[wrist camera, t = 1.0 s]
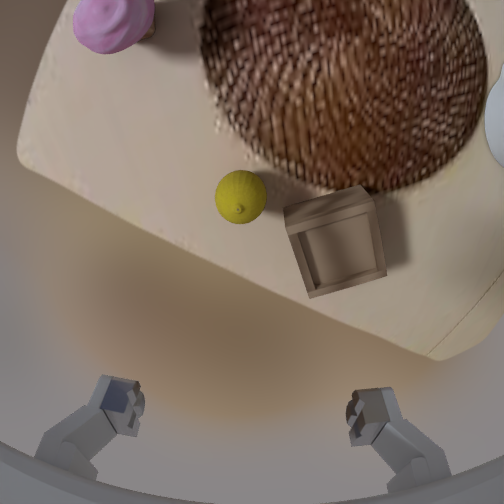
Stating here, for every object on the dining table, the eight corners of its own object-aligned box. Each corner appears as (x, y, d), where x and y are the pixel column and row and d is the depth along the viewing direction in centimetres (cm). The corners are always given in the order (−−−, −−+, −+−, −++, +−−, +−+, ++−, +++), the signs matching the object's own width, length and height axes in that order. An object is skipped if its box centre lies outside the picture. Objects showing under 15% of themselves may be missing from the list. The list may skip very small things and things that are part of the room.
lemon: (271, 201, 38) (272, 228, 31) (228, 211, 39) (219, 241, 32) (260, 158, 36) (258, 176, 29) (214, 169, 36) (201, 190, 29)
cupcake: (177, 44, 29) (145, 31, 20) (110, 66, 30) (64, 65, 21) (166, -17, 25) (134, -45, 16) (101, 6, 26) (56, -8, 17)
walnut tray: (359, 184, 37) (374, 200, 31) (373, 251, 41) (387, 275, 36) (283, 207, 39) (285, 227, 33) (305, 272, 43) (309, 298, 38)
